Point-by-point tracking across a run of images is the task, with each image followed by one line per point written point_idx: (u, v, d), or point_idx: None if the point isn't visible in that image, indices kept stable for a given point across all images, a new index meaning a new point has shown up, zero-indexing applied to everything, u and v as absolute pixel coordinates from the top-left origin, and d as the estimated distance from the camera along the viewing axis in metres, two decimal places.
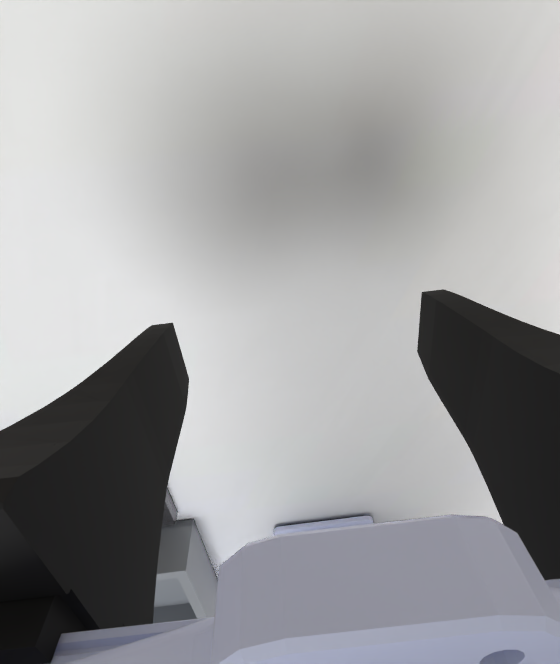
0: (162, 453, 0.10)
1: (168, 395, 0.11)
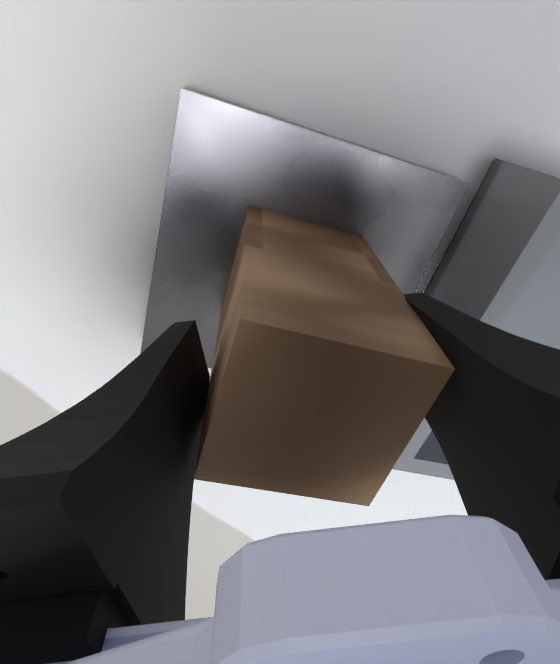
0: (188, 450, 0.10)
1: (193, 392, 0.11)
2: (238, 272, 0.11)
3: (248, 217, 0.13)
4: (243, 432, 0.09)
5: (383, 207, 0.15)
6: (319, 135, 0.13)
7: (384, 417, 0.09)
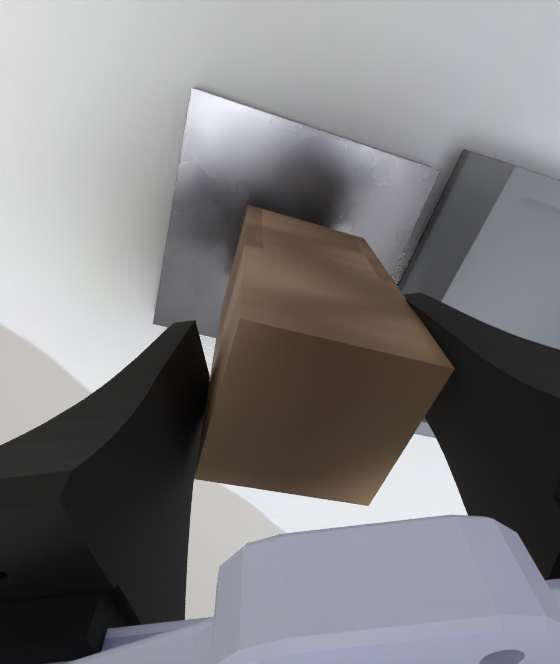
0: (188, 450, 0.10)
1: (193, 392, 0.11)
2: (238, 272, 0.11)
3: (248, 217, 0.13)
4: (243, 432, 0.09)
5: (366, 192, 0.17)
6: (309, 128, 0.15)
7: (383, 417, 0.09)
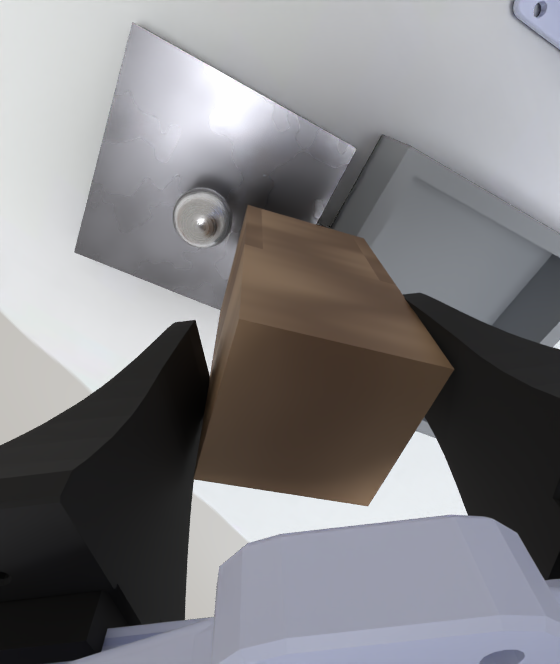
0: (188, 450, 0.10)
1: (193, 392, 0.11)
2: (237, 272, 0.11)
3: (248, 217, 0.13)
4: (242, 432, 0.09)
5: (289, 156, 0.18)
6: (241, 84, 0.17)
7: (383, 418, 0.09)
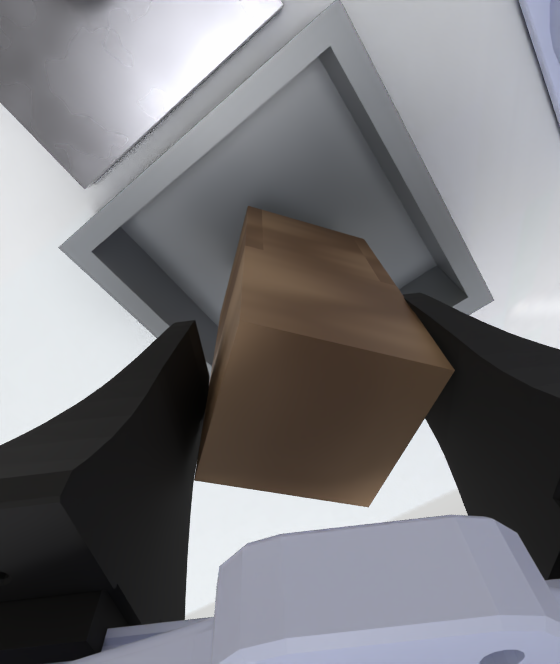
0: (188, 450, 0.10)
1: (193, 392, 0.11)
2: (238, 273, 0.11)
3: (248, 218, 0.13)
4: (243, 434, 0.09)
5: None
6: None
7: (383, 419, 0.09)
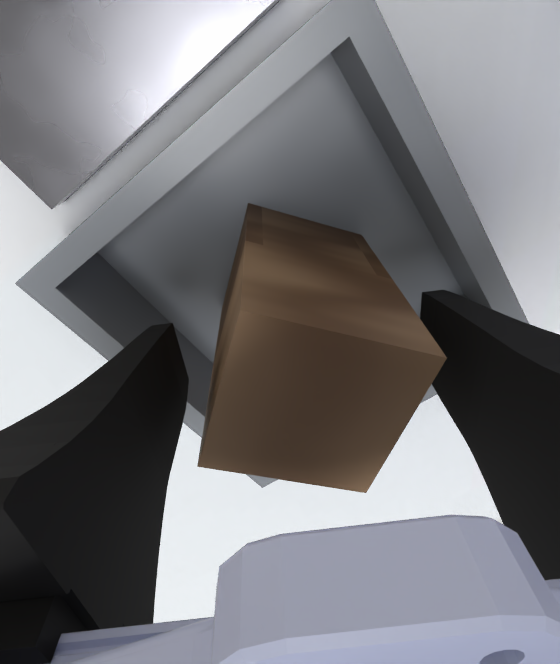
0: (162, 453, 0.10)
1: (168, 395, 0.11)
2: (239, 268, 0.11)
3: (248, 215, 0.13)
4: (244, 421, 0.09)
5: None
6: None
7: (379, 405, 0.09)
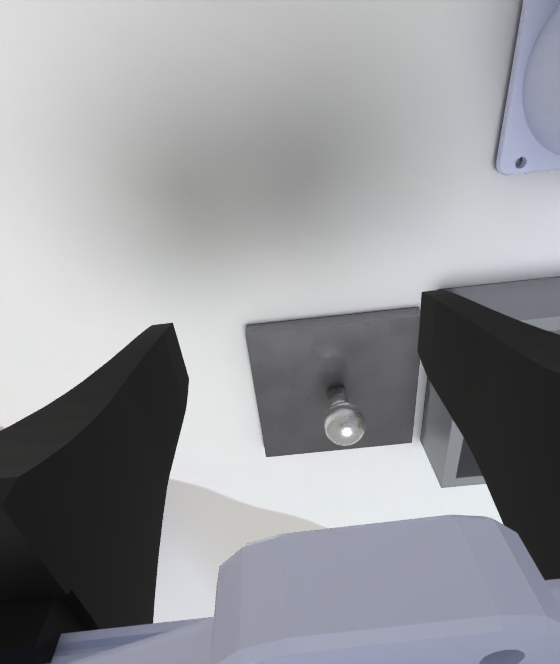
0: (162, 453, 0.10)
1: (168, 395, 0.11)
2: None
3: None
4: None
5: (377, 344, 0.24)
6: (325, 326, 0.23)
7: None
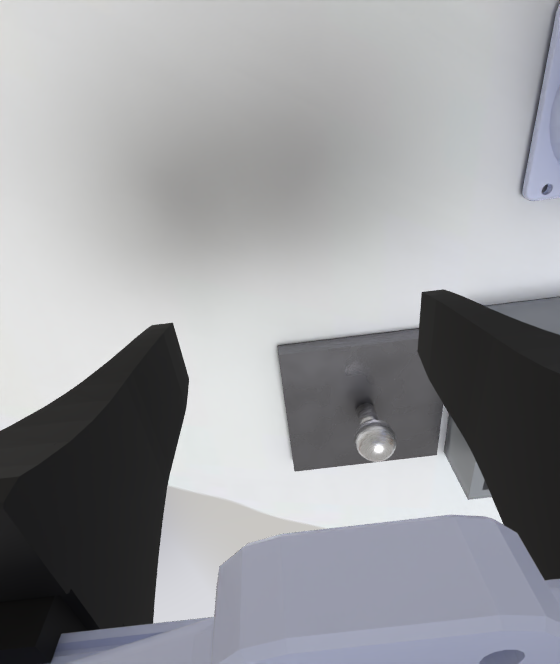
0: (162, 453, 0.10)
1: (168, 395, 0.11)
2: None
3: None
4: None
5: (405, 361, 0.24)
6: (355, 346, 0.24)
7: None
